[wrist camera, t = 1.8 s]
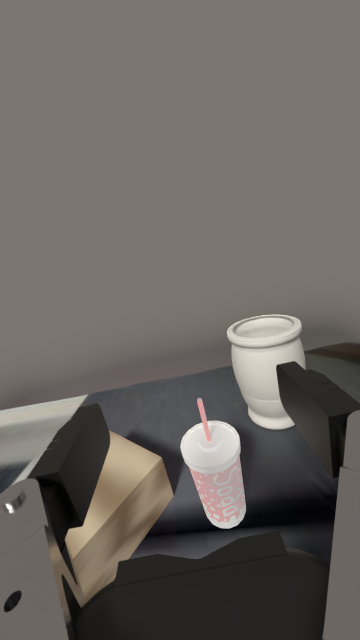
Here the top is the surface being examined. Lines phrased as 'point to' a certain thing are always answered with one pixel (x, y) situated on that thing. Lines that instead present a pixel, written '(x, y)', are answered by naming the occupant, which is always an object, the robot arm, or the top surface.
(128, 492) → the wooden riser
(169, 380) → the top surface
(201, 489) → the beverage cup
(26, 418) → the top surface
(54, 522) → the robot arm
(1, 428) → the top surface
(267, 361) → the jar
